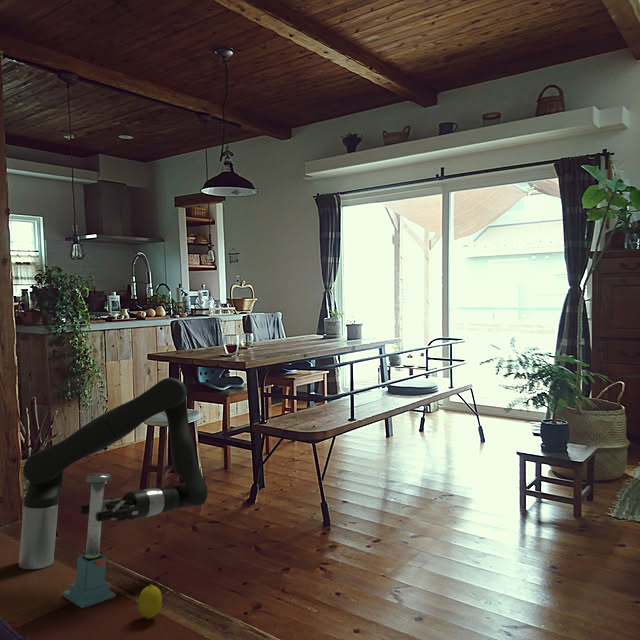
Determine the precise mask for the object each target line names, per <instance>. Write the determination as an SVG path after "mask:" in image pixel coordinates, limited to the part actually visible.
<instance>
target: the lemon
mask: <svg viewBox="0 0 640 640" xmlns="http://www.w3.org/2000/svg"><path fill="white" fill-rule="evenodd" d="M161 592H162V591H161V589H160V588H158V587H157V586H155V585H153V584H149V586H146V587H145V588H143V589H142V590H141V592H140V594H139V597H138V600H137V601H138V602H137V609H138V612H139V613H140V615H141V616H142V617H144V618H146V619H147V620H150V619H152V617H154V616H157V614H159V612H160V611H161V608H162V603H163V597H162V593H161Z"/></svg>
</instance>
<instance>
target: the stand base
mask: <svg viewBox="0 0 640 640" xmlns="http://www.w3.org/2000/svg"><path fill="white" fill-rule="evenodd" d="M106 570H107V556H105V555H104V554H101V553H100V555H99V559H96V560H92V561H87V560H85V554H84V555H79V556H77V563H76V574H75V575H76V576H75V583H71V584H70V586H69V589H67V590H64V591H62V597H64V598H65V599H66V600H68V601H70V602H71V603H73V604H75V605H76V606H78V607H80V608H81V609H84V608H88V607H91V606H93V604H94V605H97V604H100V603H102V602H101V601H103V602H105V601H104V600H107V599H110V598H112V597H114V596H115V597H116V595H117V594H116V593H115V592H113V591H111V590H110V588H111V587H110V584H109V583H107V582H105V581H106ZM110 600H111V599H110ZM107 601H108V600H107ZM99 602H100V603H99ZM96 603H97V604H96Z"/></svg>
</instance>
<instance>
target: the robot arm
mask: <svg viewBox="0 0 640 640" xmlns="http://www.w3.org/2000/svg"><path fill="white" fill-rule="evenodd" d="M187 395H188V389H187V387H186V385H185V383H184V382H183V381H181V380H180V379H178V378H174V377H167V378H163V379H161V380H160V381H158V382H157V383H156V384H154V385H153V386H151V387H150V388H149V389H147V390H146V391H144V392H143V393H141V394H139V395H138V396H137V397H135V398H133V399H131V400H129V401H125V402H124V403H122V404H120V405H118V406H116V407H114V408H112V409H111V410H108V411H106V412H104V413H102V414H100V415H99V416H97V417H96V418H94V419H92V420H91V421H89V422H88V423H87V424H85V425H83V426H82V427H80V428H79V429H78V430H76V431H74V432H73V433H72V434H70V435H69V436H68V437H66V438H64V439H63V440H61V441H59V442H58V443H56V444H53V445H52V446H49V447H45V448H42V449H40V450H38V451H36V452H35V453H33V454H31V455H30V456H29V457H28V458H27V459H26V460H25V461H24V465H23V469H22V474H23V476H24V478H25V480H27V481H28V482H29V483H28V489H27V491H26V493H25V496H24V500H23V511H22V519H21V520H22V521H21V531H20V532H21V533H20V534H21V535H20V545H19V555H18V567H19V568H21V569H23V570H38V569H44V568H47V567H50V566H51V565H52V564H54V560H55V558H54V557H55V556H54V555H55V549H56V537H57V536H56V534H57V525H58V524H57V523H58V510H59V498H60V495H61V492H62V488H63V487H62V486H63V478H64V477H63V476H64V470H65V469H67V468H69V466H71V465H72V464H75V463H76V462H78V461H81V460H83V459H84V458H86V457H89V456H92V455H93V454H96V453H97V452H99V451H102V450H104V449H106V448H108V447H109V446H112V445H113V444H115V443H117V442H118V441H120V440H122V439H123V438H125V437H126V436H128V435H129V434H130V433H132V432H133V431H134V430H136V428H138V427H139V426H140V425H141V424H143V423H144V422H145V421H146V420H148V419H150V418H152V417H154V416H156V415H158V414H160V413H162V412H164V413H165V416H166V420H167V424H168V431H169V447H170V455H171V461H172V465H173V470H174V474H175V475H176V476H177V477H180V478H182V479H183V482H184V483H181V484H177V485H171V486H162V487H157V488H153V487H152V488H144V489H138V490H134V491H128V492H126V493H125V494H124V496H123V498H122V499H121V498H114V497H107V498H103V508H102V512H98V513H97V515H96V520H97V521H101V522H103V521H109V520H111V521H112V520H113V521H115V520H117V522H121V521H125V520H128V521H134V520H138V519H143V518H148V517H152V516H156V515H159V514H163V513H167V512H171V511H173V510H177V509H181V508H189V507H200V506H202V505H203V504H205V502H206V501H207V499H208V494H209V493H208V492H209V491H208V485H207V483H206V481H205V479H204V477H203V474H202V472H201V470H200V468H199V467H198V460H197V455H196V450H195V446H194V441H193V438H192V433H191V429H190V423H189V416H188V398H187V397H188V396H187ZM89 508H90V503H87V504H81V505H80V507H79V514H80V515H86V514H89Z"/></svg>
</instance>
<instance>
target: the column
mask: <svg viewBox="0 0 640 640" xmlns="http://www.w3.org/2000/svg"><path fill="white" fill-rule="evenodd" d="M85 476H86V477H85V483H87V484H89V485H91V486H90V496H89V497H90V498H89V504H90V508H89V513H88V522H87V534H86V536H87V537H86V545H85V547H86V549H85V554H84V555H85V560H87V561H92V560H96V559H99V555H100V554H101V553H100V545H101V534H102V533H101V531H102V521H97V520H96V515H97V513H98V512H102V508H103V499H104V493H105V484H109V483H110V482H111V474H110V473H107V472H93V473H88V474H86V475H85Z"/></svg>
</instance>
